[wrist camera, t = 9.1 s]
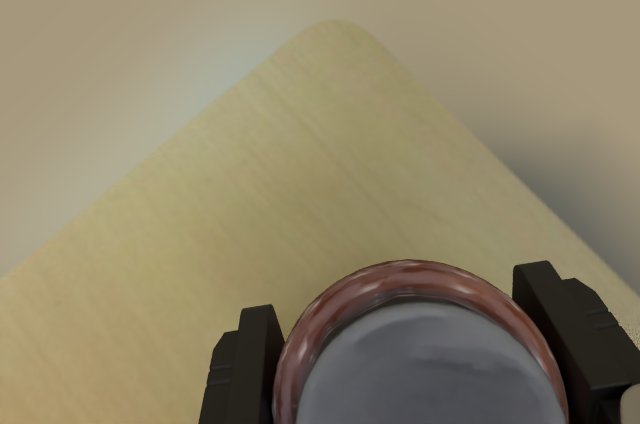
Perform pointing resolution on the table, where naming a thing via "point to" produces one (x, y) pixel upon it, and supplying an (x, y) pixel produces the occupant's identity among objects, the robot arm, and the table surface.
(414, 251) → the table surface
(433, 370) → the supplement bottle
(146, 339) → the table surface
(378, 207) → the table surface
